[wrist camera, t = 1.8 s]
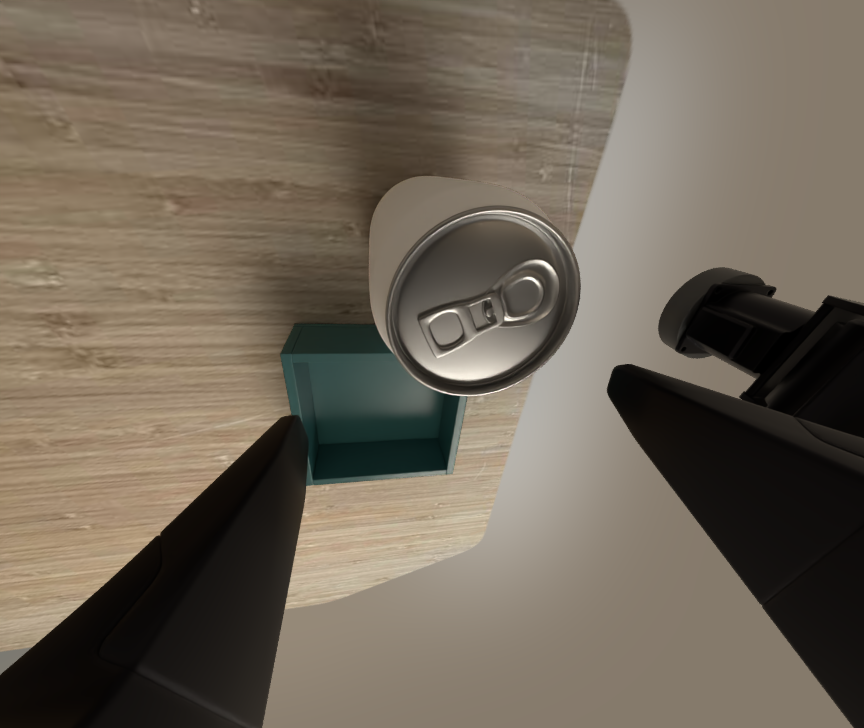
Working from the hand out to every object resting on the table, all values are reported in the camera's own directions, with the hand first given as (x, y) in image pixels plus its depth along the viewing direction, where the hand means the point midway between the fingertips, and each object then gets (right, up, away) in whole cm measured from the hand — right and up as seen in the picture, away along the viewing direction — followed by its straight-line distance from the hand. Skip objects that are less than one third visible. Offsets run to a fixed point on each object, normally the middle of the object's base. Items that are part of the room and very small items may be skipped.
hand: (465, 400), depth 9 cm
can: (-1, +9, +10) cm, 13 cm away
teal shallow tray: (-5, -1, +15) cm, 16 cm away
